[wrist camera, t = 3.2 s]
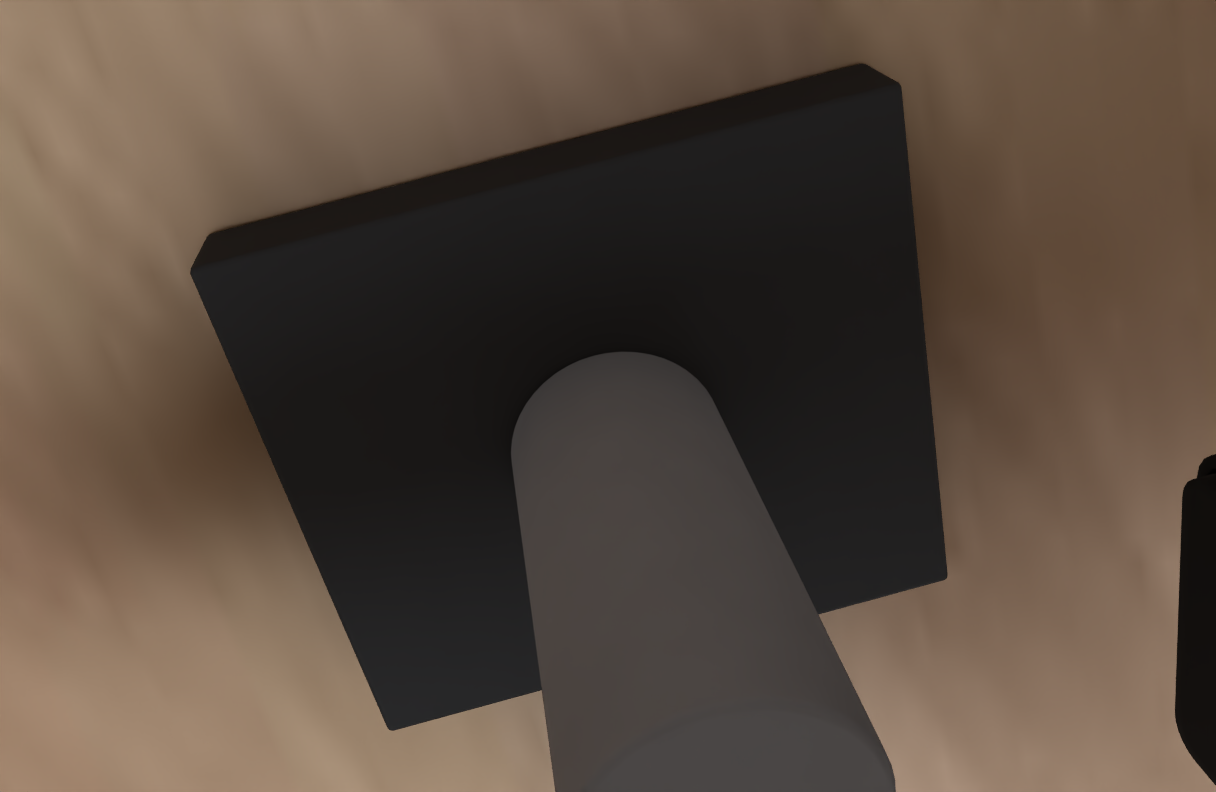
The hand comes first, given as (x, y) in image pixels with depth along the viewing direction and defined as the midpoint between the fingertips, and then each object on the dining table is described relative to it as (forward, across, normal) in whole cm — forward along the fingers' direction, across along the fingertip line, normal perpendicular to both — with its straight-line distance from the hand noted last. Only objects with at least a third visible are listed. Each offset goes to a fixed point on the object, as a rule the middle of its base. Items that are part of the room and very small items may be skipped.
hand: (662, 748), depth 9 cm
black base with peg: (+6, 0, +2) cm, 7 cm away
